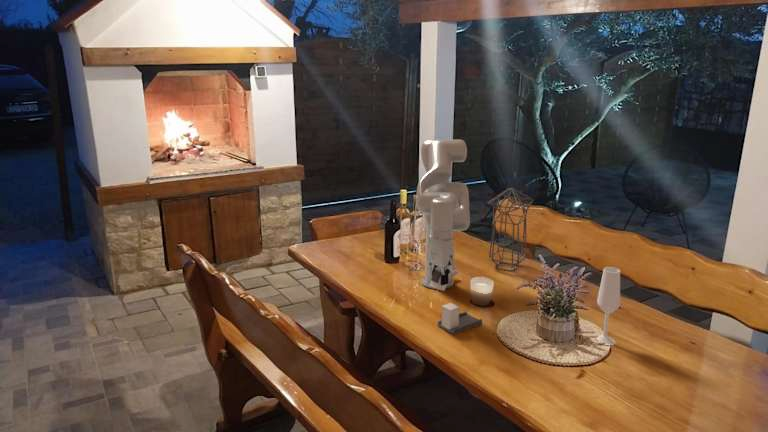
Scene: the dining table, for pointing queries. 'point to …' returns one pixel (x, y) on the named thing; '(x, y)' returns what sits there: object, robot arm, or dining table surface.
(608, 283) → the champagne flute
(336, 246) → the dining table surface
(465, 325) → the grey slab
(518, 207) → the geometric lantern
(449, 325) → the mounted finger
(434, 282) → the white rectangular block
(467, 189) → the robot arm
